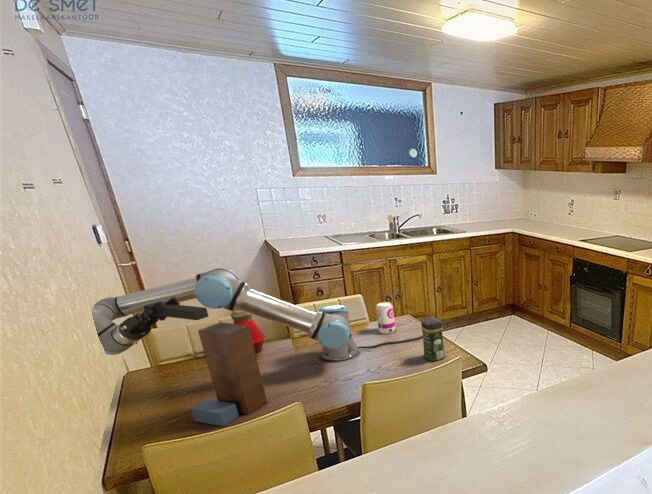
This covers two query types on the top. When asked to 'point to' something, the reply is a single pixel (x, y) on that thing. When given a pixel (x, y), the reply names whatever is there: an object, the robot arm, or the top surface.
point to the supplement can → (385, 317)
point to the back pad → (181, 311)
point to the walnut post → (233, 365)
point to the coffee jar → (432, 338)
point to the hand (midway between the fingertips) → (169, 302)
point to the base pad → (215, 412)
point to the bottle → (245, 319)
